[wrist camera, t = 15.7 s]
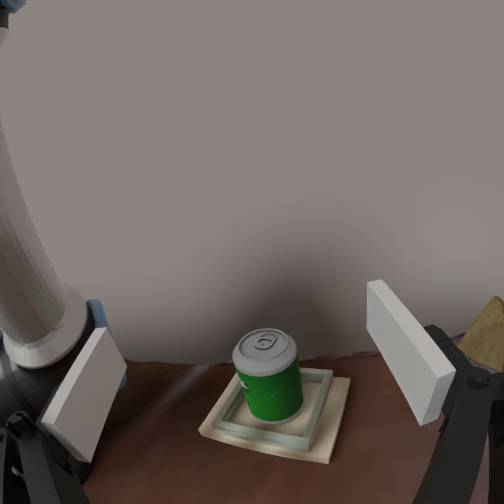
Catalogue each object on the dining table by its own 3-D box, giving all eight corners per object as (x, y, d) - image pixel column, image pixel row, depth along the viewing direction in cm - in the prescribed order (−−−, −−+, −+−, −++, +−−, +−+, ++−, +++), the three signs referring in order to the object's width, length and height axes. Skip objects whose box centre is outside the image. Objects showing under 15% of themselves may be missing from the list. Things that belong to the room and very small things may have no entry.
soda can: (312, 393, 38) (304, 327, 34) (292, 434, 32) (279, 371, 28) (265, 384, 42) (249, 320, 38) (241, 420, 36) (217, 358, 32)
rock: (531, 358, 27) (508, 317, 35) (525, 335, 25) (497, 290, 33) (478, 397, 32) (462, 353, 40) (464, 380, 30) (445, 331, 38)
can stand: (201, 435, 36) (193, 421, 35) (242, 372, 47) (237, 357, 46) (328, 463, 28) (328, 451, 27) (350, 384, 40) (350, 368, 38)
